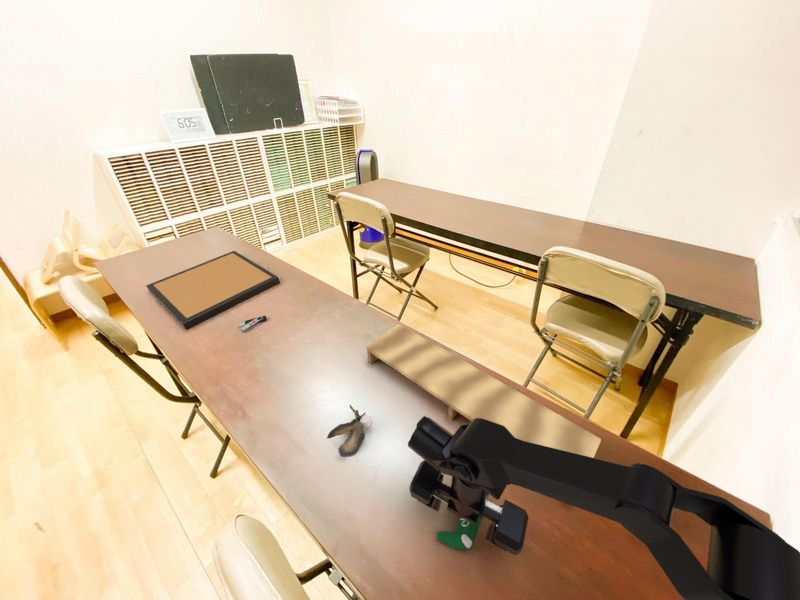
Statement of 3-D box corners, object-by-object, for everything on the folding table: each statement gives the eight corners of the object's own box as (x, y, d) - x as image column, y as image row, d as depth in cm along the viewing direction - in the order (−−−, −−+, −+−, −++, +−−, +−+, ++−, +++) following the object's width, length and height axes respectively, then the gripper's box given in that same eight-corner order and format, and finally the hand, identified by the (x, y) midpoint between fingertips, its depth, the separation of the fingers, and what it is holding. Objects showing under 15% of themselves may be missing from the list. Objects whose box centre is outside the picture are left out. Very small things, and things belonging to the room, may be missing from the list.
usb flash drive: (266, 316, 110) (265, 314, 109) (268, 325, 106) (267, 323, 105) (239, 324, 107) (238, 322, 106) (240, 334, 103) (239, 331, 102)
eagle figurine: (342, 411, 78) (320, 440, 71) (356, 398, 74) (334, 426, 67) (365, 433, 78) (346, 463, 70) (380, 421, 74) (361, 452, 66)
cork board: (236, 256, 145) (149, 291, 124) (234, 250, 144) (145, 285, 123) (280, 283, 127) (186, 330, 106) (278, 277, 125) (182, 323, 104)
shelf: (591, 454, 69) (601, 439, 66) (570, 504, 62) (580, 490, 58) (398, 338, 100) (398, 323, 96) (368, 362, 92) (366, 347, 88)
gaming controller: (445, 551, 58) (470, 560, 53) (433, 536, 57) (457, 544, 53) (466, 503, 64) (490, 507, 59) (455, 489, 63) (478, 493, 59)
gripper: (544, 464, 51) (524, 505, 60) (435, 415, 58) (433, 458, 68) (530, 538, 43) (509, 572, 53) (407, 471, 51) (408, 511, 60)
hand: (462, 521), depth 58 cm, fingers open, 9 cm apart
